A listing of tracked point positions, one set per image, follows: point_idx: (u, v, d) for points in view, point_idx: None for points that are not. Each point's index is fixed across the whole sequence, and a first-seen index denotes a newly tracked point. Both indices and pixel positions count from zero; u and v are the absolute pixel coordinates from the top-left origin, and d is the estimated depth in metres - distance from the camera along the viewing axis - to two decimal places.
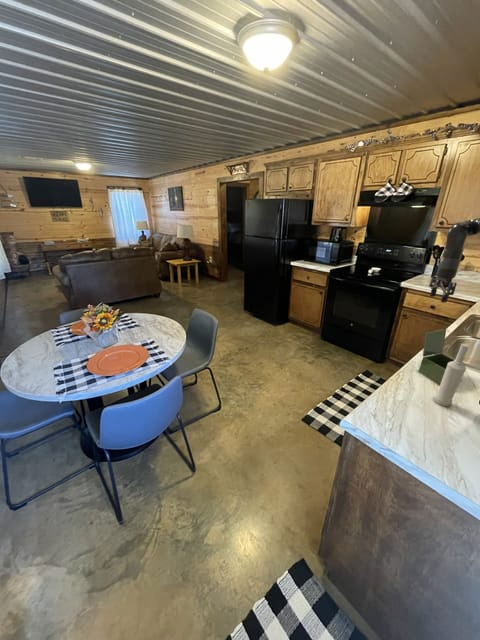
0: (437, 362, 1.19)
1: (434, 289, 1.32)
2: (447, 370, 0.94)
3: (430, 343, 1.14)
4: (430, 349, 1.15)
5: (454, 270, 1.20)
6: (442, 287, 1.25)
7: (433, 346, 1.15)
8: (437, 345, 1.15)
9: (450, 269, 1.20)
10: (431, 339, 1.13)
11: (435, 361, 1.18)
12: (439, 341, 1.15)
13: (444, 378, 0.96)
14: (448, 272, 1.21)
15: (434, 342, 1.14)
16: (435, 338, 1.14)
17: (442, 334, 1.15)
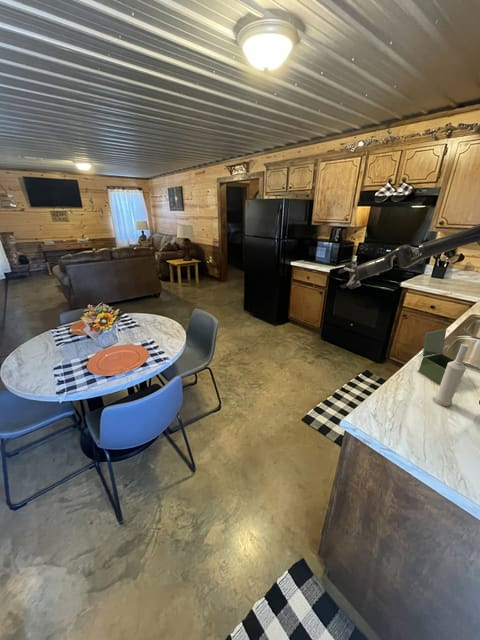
0: (437, 362, 1.19)
1: None
2: (447, 370, 0.94)
3: (430, 343, 1.14)
4: (430, 349, 1.15)
5: None
6: None
7: (433, 346, 1.15)
8: (437, 345, 1.15)
9: None
10: (431, 339, 1.13)
11: (435, 361, 1.18)
12: (439, 341, 1.15)
13: (444, 378, 0.96)
14: None
15: (434, 342, 1.14)
16: (435, 338, 1.14)
17: (442, 334, 1.15)
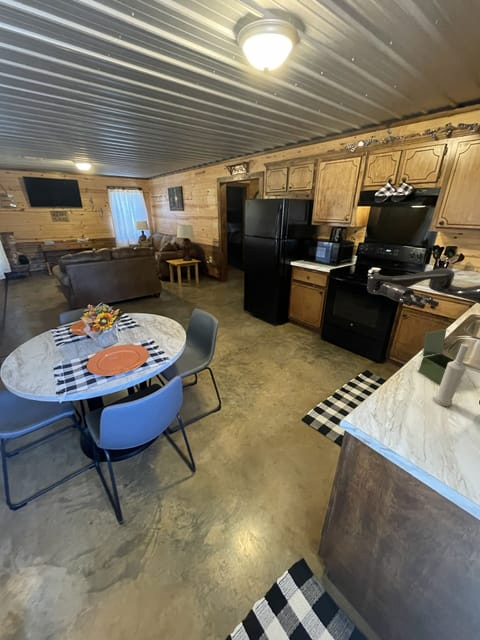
0: (437, 362, 1.19)
1: None
2: (447, 370, 0.94)
3: (430, 343, 1.14)
4: (430, 349, 1.15)
5: None
6: (422, 296, 1.20)
7: (433, 346, 1.15)
8: (437, 345, 1.15)
9: None
10: (431, 339, 1.13)
11: (435, 361, 1.18)
12: (439, 341, 1.15)
13: (444, 378, 0.96)
14: None
15: (434, 342, 1.14)
16: (435, 338, 1.14)
17: (442, 334, 1.15)
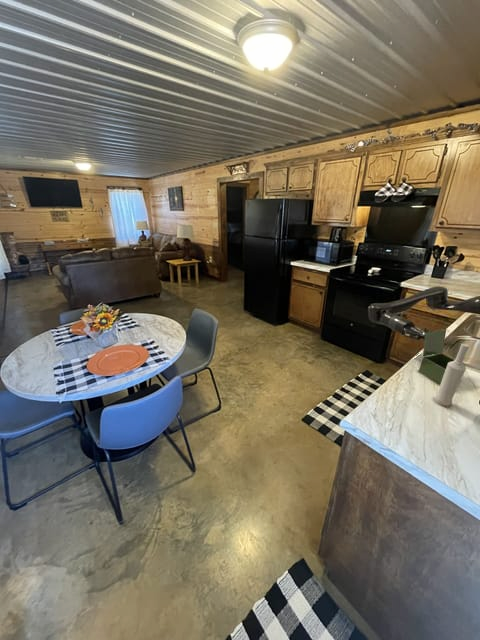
0: (437, 362, 1.19)
1: None
2: (447, 370, 0.94)
3: (430, 343, 1.14)
4: (430, 349, 1.15)
5: None
6: (421, 330, 1.21)
7: (433, 346, 1.15)
8: (437, 345, 1.15)
9: None
10: (431, 339, 1.13)
11: (435, 361, 1.18)
12: (439, 341, 1.15)
13: (444, 378, 0.96)
14: None
15: (434, 342, 1.14)
16: (435, 338, 1.14)
17: (442, 334, 1.15)
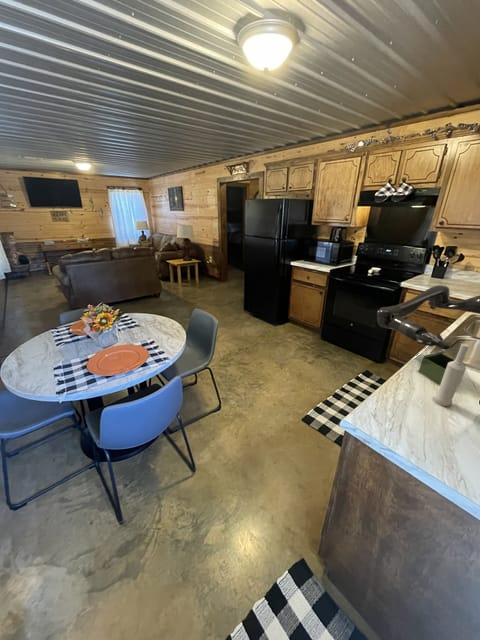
0: (437, 362, 1.19)
1: None
2: (447, 370, 0.94)
3: None
4: (435, 354, 1.13)
5: None
6: (434, 336, 1.16)
7: (440, 353, 1.12)
8: (444, 352, 1.13)
9: None
10: None
11: (435, 361, 1.18)
12: None
13: (444, 378, 0.96)
14: None
15: None
16: None
17: (458, 348, 1.09)
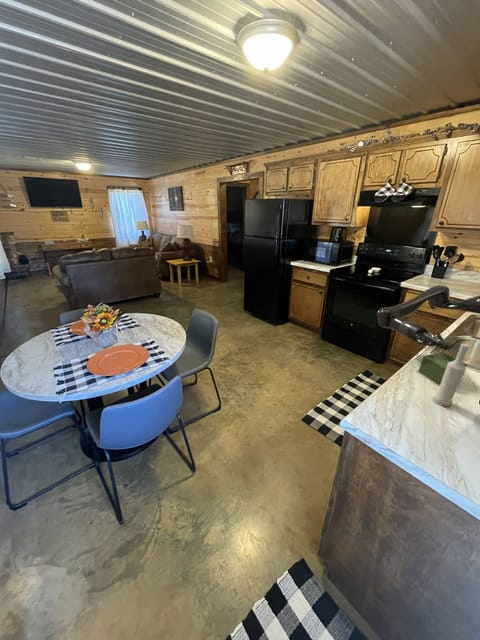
0: None
1: None
2: (447, 370, 0.94)
3: None
4: None
5: None
6: (434, 336, 1.16)
7: None
8: None
9: None
10: None
11: None
12: None
13: (444, 378, 0.96)
14: None
15: None
16: None
17: None
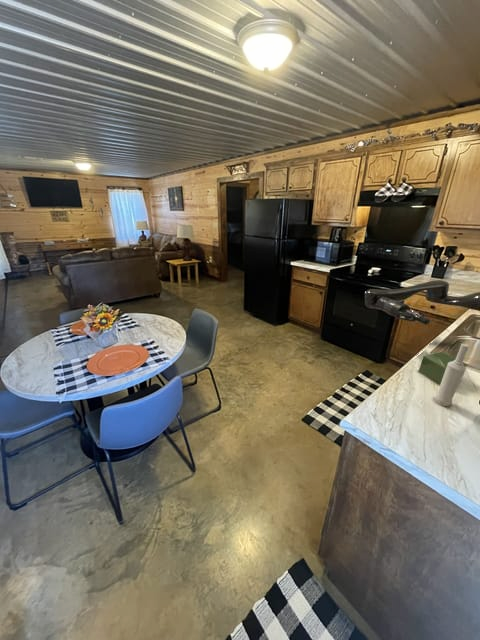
0: None
1: None
2: (447, 370, 0.94)
3: None
4: None
5: None
6: (416, 312, 1.23)
7: None
8: None
9: None
10: None
11: None
12: None
13: (444, 378, 0.96)
14: None
15: None
16: None
17: None
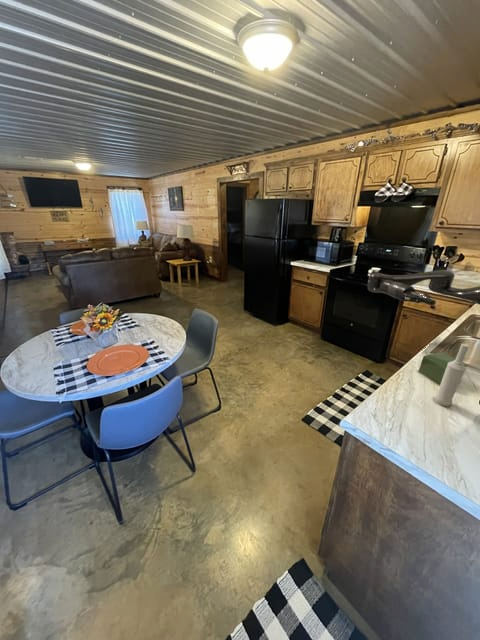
0: None
1: None
2: (447, 370, 0.94)
3: None
4: None
5: None
6: (421, 294, 1.19)
7: None
8: None
9: None
10: None
11: None
12: None
13: (444, 378, 0.96)
14: None
15: None
16: None
17: None
